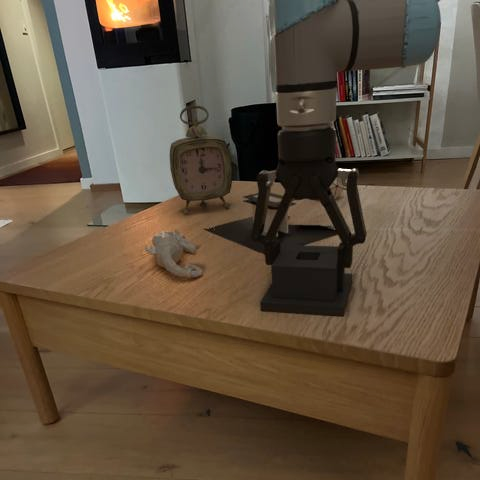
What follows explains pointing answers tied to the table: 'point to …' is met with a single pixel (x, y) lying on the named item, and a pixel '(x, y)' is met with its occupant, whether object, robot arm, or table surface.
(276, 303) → the base pad
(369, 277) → the table surface
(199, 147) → the tabletop clock
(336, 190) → the game die
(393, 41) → the robot arm
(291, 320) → the table surface
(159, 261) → the seahorse
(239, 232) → the architectural model
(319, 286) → the black square block
